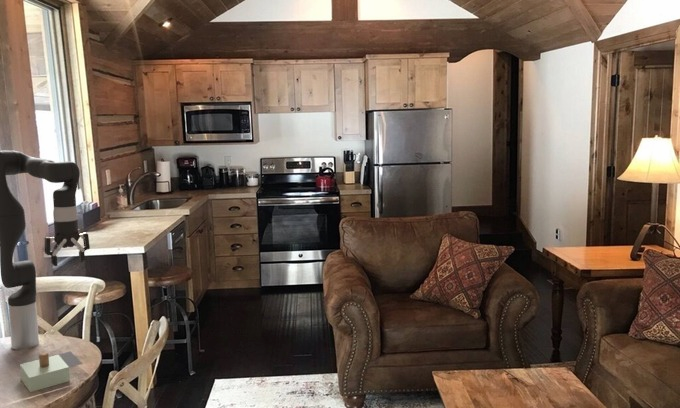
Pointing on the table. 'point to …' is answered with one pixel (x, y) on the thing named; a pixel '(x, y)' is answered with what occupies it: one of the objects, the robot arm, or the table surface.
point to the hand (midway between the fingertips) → (68, 263)
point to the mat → (69, 359)
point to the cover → (44, 372)
